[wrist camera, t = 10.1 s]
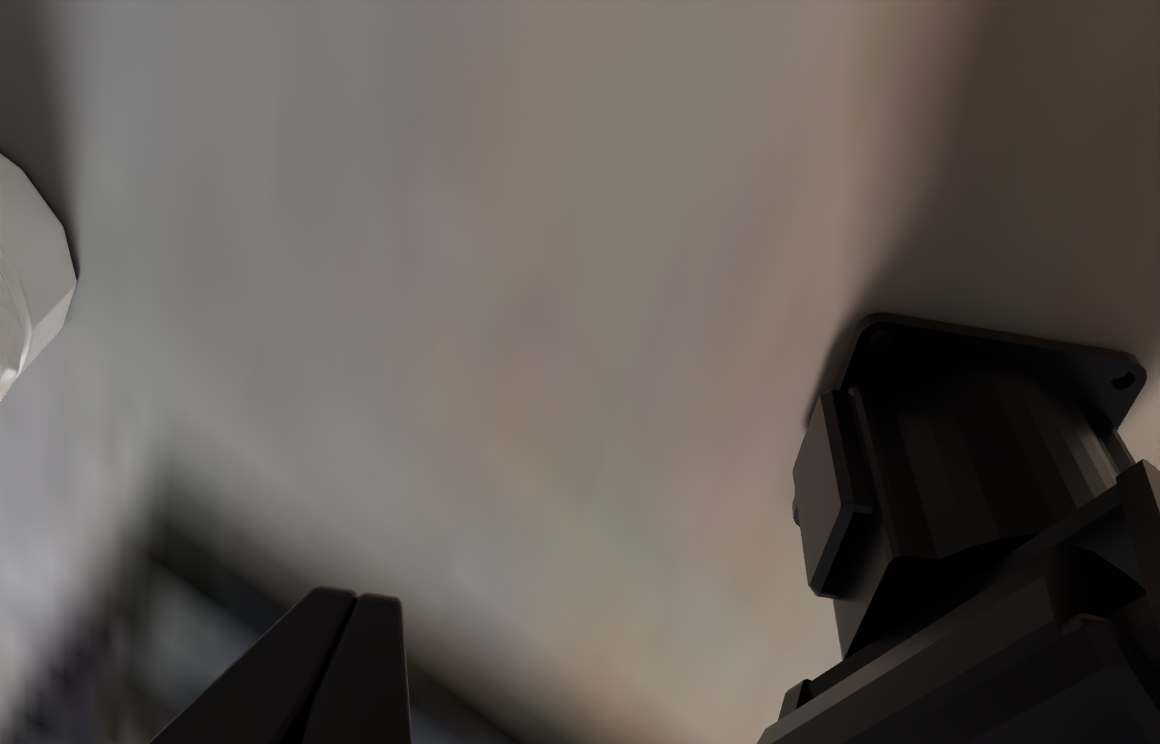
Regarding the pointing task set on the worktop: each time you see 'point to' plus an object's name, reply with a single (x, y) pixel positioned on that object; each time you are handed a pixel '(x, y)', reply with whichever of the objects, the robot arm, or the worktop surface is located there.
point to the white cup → (29, 273)
